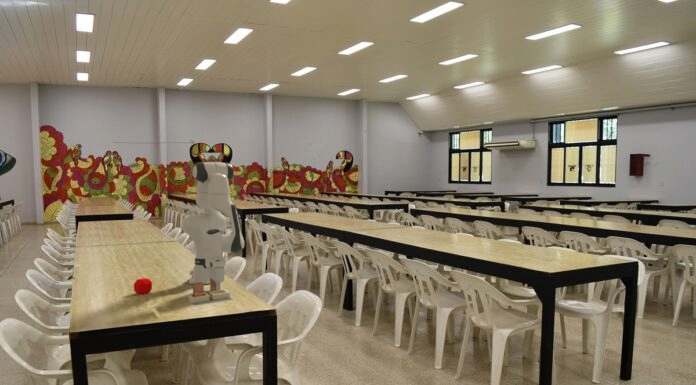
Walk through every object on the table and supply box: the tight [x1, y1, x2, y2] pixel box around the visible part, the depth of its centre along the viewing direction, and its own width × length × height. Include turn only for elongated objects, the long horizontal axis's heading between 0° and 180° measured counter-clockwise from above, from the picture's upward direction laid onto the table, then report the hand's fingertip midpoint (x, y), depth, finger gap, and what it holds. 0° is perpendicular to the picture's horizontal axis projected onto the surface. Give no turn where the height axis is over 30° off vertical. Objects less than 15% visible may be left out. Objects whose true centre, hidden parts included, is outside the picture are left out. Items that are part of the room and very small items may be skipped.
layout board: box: [185, 289, 234, 306], centre depth 236 cm, size 18×18×4 cm
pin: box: [192, 282, 205, 297], centre depth 234 cm, size 4×4×8 cm
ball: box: [133, 277, 153, 296], centre depth 256 cm, size 8×8×8 cm
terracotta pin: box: [209, 278, 217, 292], centre depth 252 cm, size 4×4×8 cm
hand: (215, 288), depth 252 cm, fingers open, 7 cm apart
